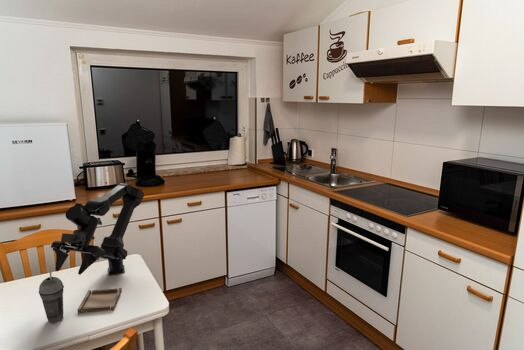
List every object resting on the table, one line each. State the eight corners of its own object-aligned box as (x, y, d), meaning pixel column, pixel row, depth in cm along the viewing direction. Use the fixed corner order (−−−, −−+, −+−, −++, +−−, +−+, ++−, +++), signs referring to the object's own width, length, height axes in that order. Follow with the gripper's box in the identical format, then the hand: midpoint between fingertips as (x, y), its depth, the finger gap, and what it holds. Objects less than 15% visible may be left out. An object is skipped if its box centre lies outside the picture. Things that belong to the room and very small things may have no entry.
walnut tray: (88, 293, 136) (88, 290, 136) (121, 291, 138) (121, 288, 138) (77, 313, 125) (77, 309, 124) (114, 310, 126) (113, 306, 126)
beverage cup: (60, 310, 126) (52, 258, 121) (72, 317, 123) (65, 264, 118) (39, 321, 120) (30, 267, 115) (51, 329, 117) (42, 274, 112)
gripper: (50, 219, 128) (29, 262, 121) (96, 225, 124) (77, 269, 116) (69, 231, 138) (50, 271, 130) (112, 237, 134) (95, 278, 126)
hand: (67, 272), depth 125 cm, fingers open, 9 cm apart
